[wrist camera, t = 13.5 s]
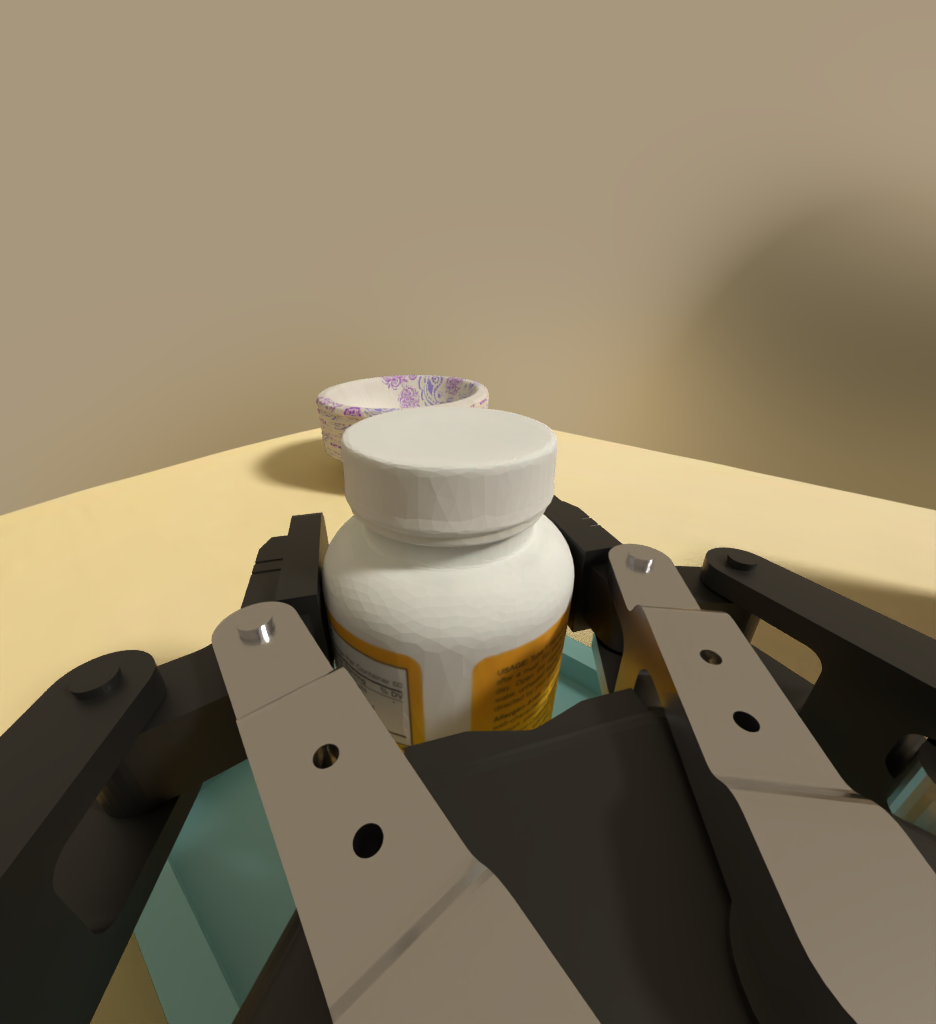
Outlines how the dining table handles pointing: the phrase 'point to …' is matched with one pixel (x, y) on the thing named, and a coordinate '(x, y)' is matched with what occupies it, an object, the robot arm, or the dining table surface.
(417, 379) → the paper bowls
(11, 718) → the dining table surface
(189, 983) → the teal tray
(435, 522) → the supplement bottle
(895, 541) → the dining table surface
